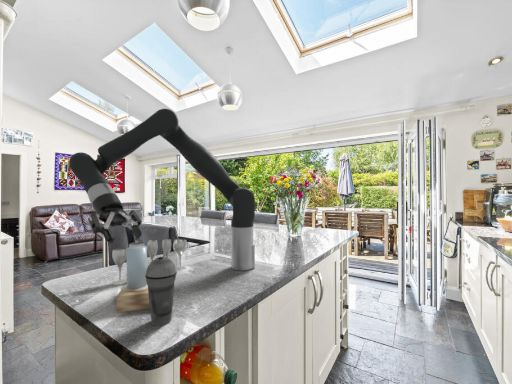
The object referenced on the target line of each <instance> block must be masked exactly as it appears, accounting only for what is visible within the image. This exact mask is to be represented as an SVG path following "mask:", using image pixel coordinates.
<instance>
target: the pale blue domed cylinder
mask: <svg viewBox="0 0 512 384" xmlns="http://www.w3.org/2000/svg"><path fill="white" fill-rule="evenodd" d="M125 248H126V256H127V259H126V281H127V288H129V289H137V288H142V287H144V286H146V285H147V282H146V277H145V275H146V270H147V267H148V250H147V245H144V246H133V247H129V246H128V247H125Z"/></svg>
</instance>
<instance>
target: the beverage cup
mask: <svg viewBox="0 0 512 384" xmlns="http://www.w3.org/2000/svg"><path fill="white" fill-rule="evenodd" d="M164 239H165V244H164V251H163V254H162V256H159V257H157V258H154V260H153V261H150V263H149V264H148V265H147V270H146V275H145V277H146V282H147V285H148V294H149V304H150V309H149V313H150V314H149V315H150V319H151V325H153V326H157V327H161V326H165V325H167V324H170V323H171V322H172V314H173V305H174V292H175V283H176V278H177V275H178V274H177V271H178V270H176V268H177V267H176V265H175V263H174V261H173V260H172V259H170V258H169V257H168V258H166V256H165V254H166V245H167V239H168V238H164Z"/></svg>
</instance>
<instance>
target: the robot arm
mask: <svg viewBox="0 0 512 384" xmlns="http://www.w3.org/2000/svg"><path fill="white" fill-rule="evenodd" d="M158 136H160V137H161V138H162V139H164V140H166V141H167V142H168V143H169V144H170V145H171V146H172V147H174V148H175V149H176V150H177V151H178V153H180V154H181V156H182V157H183V158H184V159H185V160H186V161H187V162H188V163H189V165H190V166H192V168H193V169H194V170H195V171H196V172H197V173H199V175H200V176H202V177H203V178H204V179H205V180H206V181H207V182H209V184H211V185H212V186H213V187H215V188H216V189H217V190H218V191H219V192H220V193H221V194H222V195H223V197H224V198H225V199H226V200H227V201H228V203H229V204H230V205H231V206H232V218H231V221H230V230H231V231H230V232H231V233H230V234H231V235H230V237H231V238H230V240H231V241H230V243H231V246H230V248H231V249H230V251H231V253H230V254H231V257H230V258H231V262H230V263H231V269H232V270H234V271H235V270H236V271H248V270H252V269H255V268H256V267H255V266H256V265H255V264H256V261H255V260H256V259H255V258H256V256H255V255H256V254H255V253H256V252H255V251H256V249H255V247H256V246H255V244H254V221H255V216H256V215H255V214H256V212H255V211H256V198H255V195H254V192H253V191H252V190H251V189H249V188H247V187H242V186H240V185H239V184H238V183H237V182H236V181H234V180H233V179H232V178H231V176H230V175H229V174H228V172H227V170H226V169H225V168H224V166H223V165H222V163H221V162H220V160H219V159H218V158H217V157H216V156H215V155H214V154H213V153H212V152H210V150H209V149H207V148H206V147H205V146H204V145H202V144H201V143H199V142H198V141H196V140H194V139H193V138H192V137H190V135H188V133H186V131H185V130H184V129H183V128H182V126H181V125H180V124H179V118H178V116H177V114H176V112H174V111H173V110H172V109H169V108H160V109H158V110H157V111H155V112H153V114H151V115H150V116H149V117H148V118H147V119H145V120H144V121H143V122H141V123H139V124H138V125H137V126H135V127H134V128H132V129H130V130H129V131H127V132H125V133H122V135H119V136H117V137H116V138H113V139H112V140H110V141H108V142H106V143H105V144H103V145H101V146H99V147H98V149H97V152H98V155H99V156H98V157H97V158H96V159H94V158H93V157H92V156H91V155H90V154H88V153H86V152H75V153H73V154H72V155H71V156H70V158H69V161H68V165H69V166H68V167H69V168H70V170H71V172H72V173H73V174H74V176H75V177H76V178H77V180H79V182H80V183H81V185H82V186H83V189H84V190H85V193H86V195H87V196H88V197H87V198H88V199H89V202H90V204H91V206H92V207H93V210H94V211H92V212H91V213H90V215H89V217H88V219H87V220H88V222H89V225H90V227H91V230H92V232H93V233H94V234H98V233H100V234H101V235H102V236H103V238H104V239H105V240H104V241H106V242H108V244H113V243H114V241H115V239H116V238H115V235H114V234H113V232H112V230H111V229H110V228H109V227H110V226H111V227H116V226H118V227H119V226H121V227H122V226H123V227H124V228H128V229H130V230H131V232H132V233H133V235H134V237H135V239H136V240H137V239H140V238H141V236H142V231H141V229H140V226H141V225H142V223H143V221H142V219H141V218H140V216H139V215H138V214H137V213H136V211H135V210H134V209H131V210H130V211H126V210H125V209H124V207H123V203H122V202H121V200H120V199H119V197H118V195H117V193H116V192H115V190H114V189H113V188H112V186H111V185H110V183H109V181H108V180H107V178H106V177H105V176H104V175H103V174H104V173H105V172H107V171H108V170H109V169H110V168H111V167H112V166H113V165H114V164H115V163H117V162H119V161H120V160H123V159H124V158H126V157H128V156H129V155H131V154H132V153H134V152H135V151H136V150H138V149H139V148H140V147H142V145H144V144H145V143H147V142H149V141H150V140H152V139H154V138H156V137H158ZM100 221H101V222H103V223H104V224H103V225H101V223H100Z"/></svg>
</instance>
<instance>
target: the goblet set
mask: <svg viewBox="0 0 512 384" xmlns="http://www.w3.org/2000/svg"><path fill="white" fill-rule="evenodd" d="M165 239H167V245H166V254H165V257H166V258H169V255H170V252H171V249H173V251H174V252H175V253H176V254H177V255H178V257H179V267H176V271H184V270H187V267H185V266H182V255H183V254H184V253H185V251H187V249H188V242H187V241H188V240H187V239H186V238H178V239H177V238H176V239H174V240H173V245H172V239H171V238H163V239H162V243H161V246H162V251H163V252H164V244H165ZM133 246H145V242H143V241H136V242H135V241H134V242H131V243H129V245H128V247H133ZM146 246H147V254H148V255H149V256H148V257H150V260H151V261H150V262H152V261H153V260H154V259H155V257H156V255H157V252H158V248H159V247H158V240H157V239H150V240H148V241H147V245H146ZM126 248H127V247H116V248H113V249H112V254H111V255H112V258H111V259H112V260H113V262H114V264H115V265H116V267H117V269H118V274H119V276H118V277H119V279H118V280H116V281H114V282H113V283H112V284H113V286H114V285H115V286H116V285H118V286H119V285H123V284H124V285H125V284H126V282H127V279H126V280H125V279H121V276H122V268H123V265H124V264H125V262H127V256H126Z"/></svg>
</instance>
